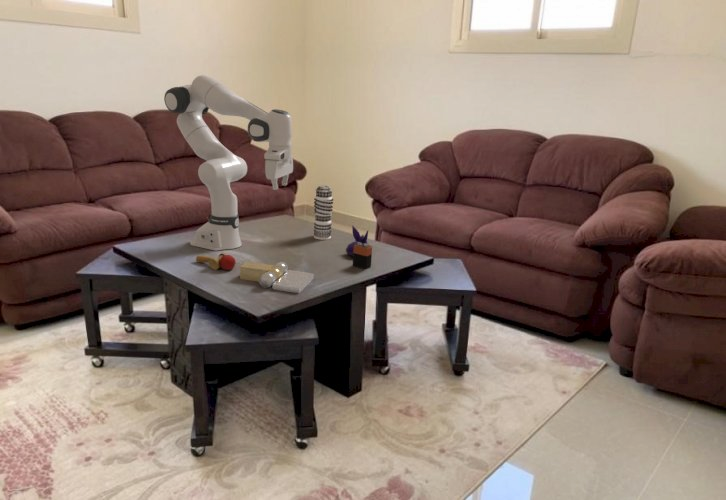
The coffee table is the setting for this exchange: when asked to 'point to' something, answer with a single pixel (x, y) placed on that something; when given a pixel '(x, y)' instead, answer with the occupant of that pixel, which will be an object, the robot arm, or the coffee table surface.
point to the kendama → (218, 261)
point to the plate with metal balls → (286, 279)
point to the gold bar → (258, 271)
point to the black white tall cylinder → (323, 213)
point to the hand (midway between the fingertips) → (280, 187)
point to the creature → (357, 238)
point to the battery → (362, 255)
